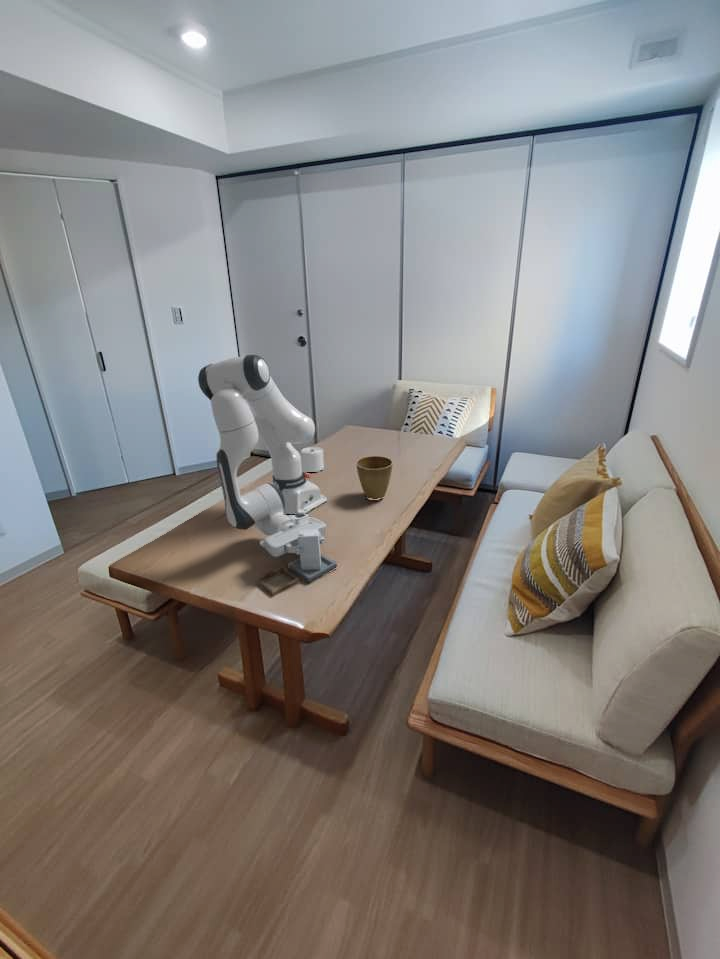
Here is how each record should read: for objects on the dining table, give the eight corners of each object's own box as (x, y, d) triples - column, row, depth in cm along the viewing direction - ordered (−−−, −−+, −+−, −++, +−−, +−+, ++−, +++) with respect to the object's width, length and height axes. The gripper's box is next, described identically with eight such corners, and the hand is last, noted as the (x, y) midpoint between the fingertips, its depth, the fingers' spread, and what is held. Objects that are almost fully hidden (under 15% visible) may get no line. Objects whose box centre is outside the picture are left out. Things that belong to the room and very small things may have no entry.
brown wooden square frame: (281, 569, 131) (281, 566, 130) (299, 582, 125) (299, 578, 124) (256, 582, 125) (255, 579, 125) (273, 596, 119) (273, 592, 119)
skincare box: (321, 562, 133) (319, 528, 128) (320, 570, 128) (318, 535, 124) (301, 562, 132) (299, 528, 128) (300, 571, 128) (297, 536, 123)
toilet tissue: (327, 466, 213) (326, 447, 209) (319, 475, 202) (317, 455, 198) (307, 464, 215) (305, 446, 211) (298, 473, 204) (296, 453, 200)
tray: (315, 555, 138) (314, 550, 137) (336, 568, 131) (336, 563, 130) (288, 569, 131) (288, 563, 130) (309, 583, 124) (309, 578, 123)
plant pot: (364, 488, 187) (363, 454, 181) (396, 493, 182) (397, 458, 176) (351, 502, 174) (350, 466, 168) (385, 507, 169) (386, 470, 163)
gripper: (255, 533, 128) (281, 550, 119) (309, 511, 141) (336, 525, 132) (258, 551, 131) (283, 569, 121) (310, 528, 144) (337, 543, 134)
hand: (311, 546), depth 127 cm, fingers open, 7 cm apart
